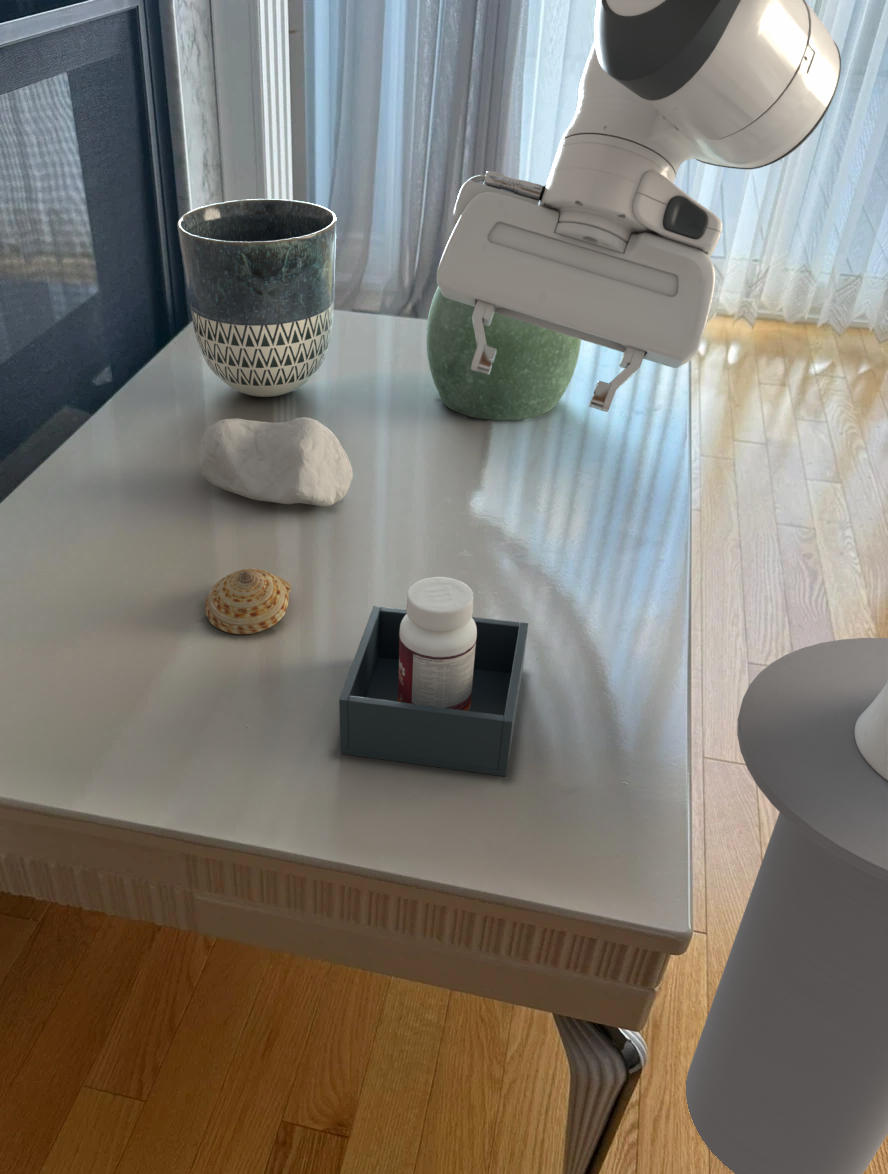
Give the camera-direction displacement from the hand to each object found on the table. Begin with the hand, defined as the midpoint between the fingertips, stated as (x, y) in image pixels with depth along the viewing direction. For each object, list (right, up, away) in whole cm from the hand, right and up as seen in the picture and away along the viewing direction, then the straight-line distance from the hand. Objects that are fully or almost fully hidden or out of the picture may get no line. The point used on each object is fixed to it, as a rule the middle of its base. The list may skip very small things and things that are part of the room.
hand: (538, 389), depth 80 cm
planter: (-25, +20, +63) cm, 70 cm away
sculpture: (+5, +17, +59) cm, 61 cm away
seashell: (-24, -15, +21) cm, 35 cm away
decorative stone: (-23, 0, +39) cm, 45 cm away
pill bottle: (-7, -24, +9) cm, 27 cm away
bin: (-7, -25, +9) cm, 27 cm away
